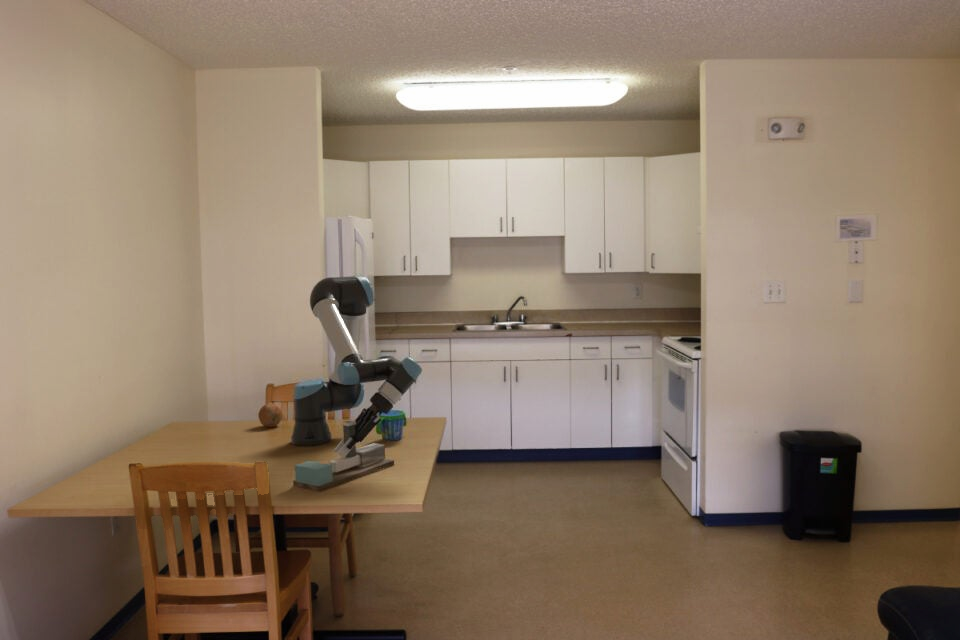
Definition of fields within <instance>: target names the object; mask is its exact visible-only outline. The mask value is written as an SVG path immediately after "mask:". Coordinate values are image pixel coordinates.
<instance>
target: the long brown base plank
mask: <svg viewBox="0 0 960 640" xmlns="http://www.w3.org/2000/svg"><path fill="white" fill-rule="evenodd" d="M356 453H358V454H361V464H359V465H356V466H353V467H350V468H347V469H344V470H341V471H339V472H332V477H333V481H332V482H329V483H326V484H323V485H320V486H315V485H310V484H305V483H300V482H296V480H293V482H292V483H293V487H299V488H302V489H307V490H312V491H316V492H324V491H326V490H329V489H331V488H335V487H337V486H340V485H343V484H345V483H348V482H351V481H354V480H357V479H359V478H362V477H364V475H365V476H367V474H368V475H370V474H373V473H375V471H376V472H378V471H377V470H379V471H381V470H383V468H384V469H387V468H389V467H391V465H392V466H394V465H395V459H388V458H386V446H385V444H382V443H375V442H373V443H371V444H368V445H364V446H361V447H358V448H357V447H356ZM388 466H389V467H388ZM386 467H387V468H386ZM380 469H381V470H380ZM372 472H373V473H372ZM369 473H370V474H369ZM361 476H362V477H361ZM358 477H359V478H358ZM356 478H357V479H356ZM353 479H354V480H353ZM350 480H351V481H350Z"/></svg>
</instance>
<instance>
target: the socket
mask: <svg viewBox="0 0 960 640" xmlns="http://www.w3.org/2000/svg"><path fill="white" fill-rule="evenodd" d="M294 473H295V474H294V476H295V477H294V478H295V480H296V482H300V483H305V484H310V485H315V486H320V485H323V484H326V483H329V482H332V481H333V477H332V465H330V464H329V463H324V462H318V461H312V460H307V461H304V462H302V463H301V462H300V463H299V464H294ZM295 480H294V481H295Z"/></svg>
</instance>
